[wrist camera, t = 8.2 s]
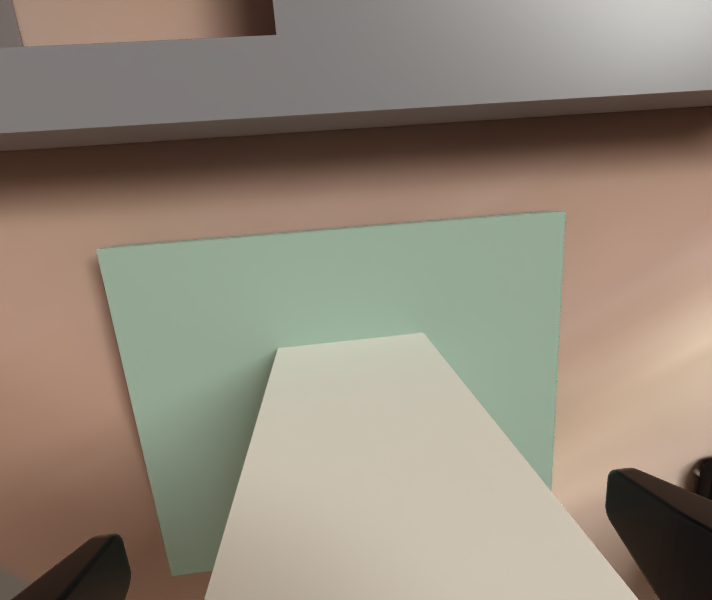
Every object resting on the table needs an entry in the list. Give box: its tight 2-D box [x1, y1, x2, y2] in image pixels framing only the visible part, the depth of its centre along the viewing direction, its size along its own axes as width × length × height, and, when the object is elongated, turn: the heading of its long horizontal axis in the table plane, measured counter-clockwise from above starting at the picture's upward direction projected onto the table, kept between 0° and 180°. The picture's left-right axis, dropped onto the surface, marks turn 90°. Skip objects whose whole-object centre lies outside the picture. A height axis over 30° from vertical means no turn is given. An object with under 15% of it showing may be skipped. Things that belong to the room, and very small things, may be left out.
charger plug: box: [204, 333, 638, 600], centre depth 7 cm, size 4×4×8 cm
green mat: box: [96, 211, 565, 577], centre depth 12 cm, size 12×10×1 cm
